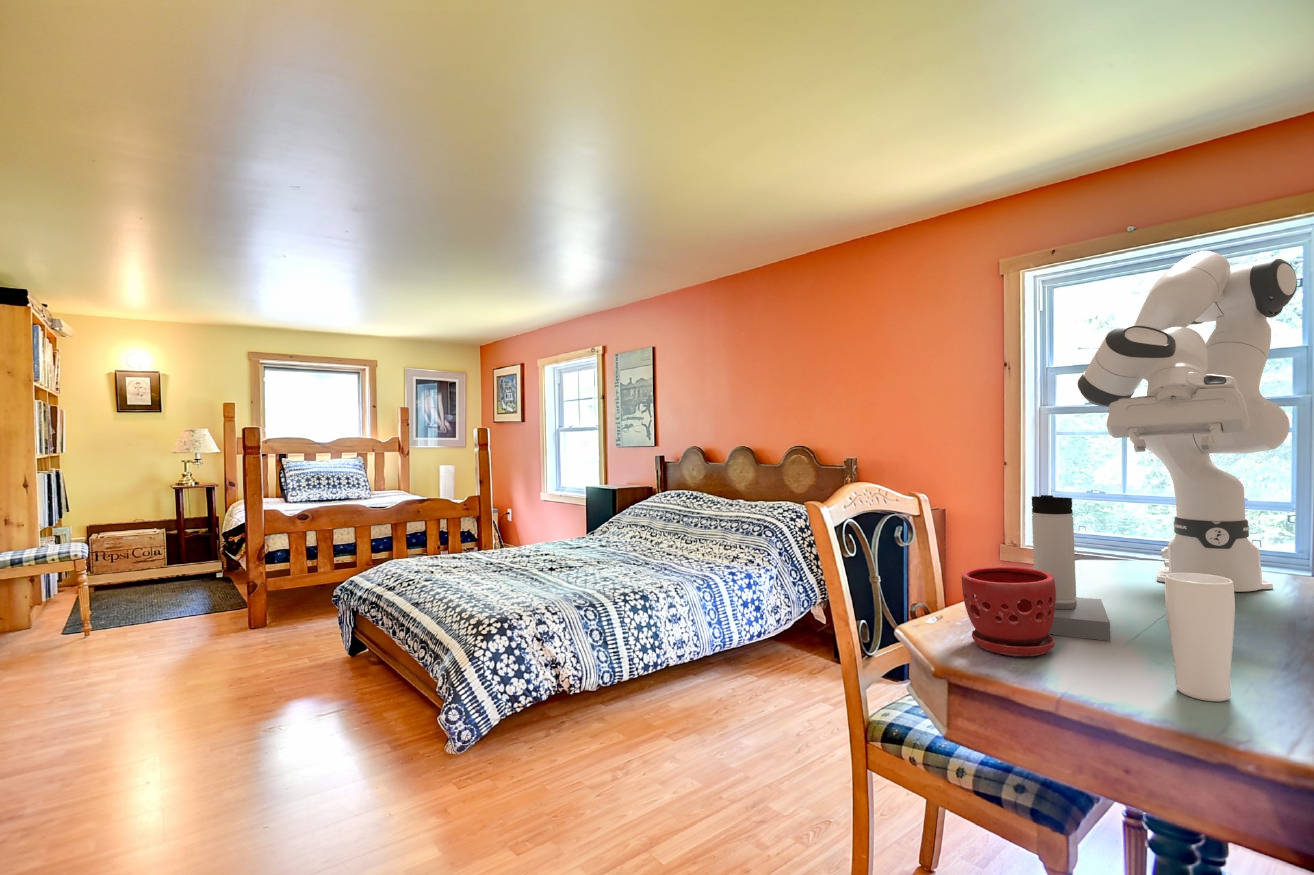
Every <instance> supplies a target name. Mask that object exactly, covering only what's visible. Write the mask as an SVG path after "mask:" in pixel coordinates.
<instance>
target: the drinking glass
mask: <svg viewBox="0 0 1314 875" xmlns="http://www.w3.org/2000/svg"><path fill="white" fill-rule="evenodd" d="M1164 594H1165V595H1164V599H1165V600H1164V601H1165V609H1166V610H1165V612H1166V618H1167V622H1168V623H1167V624H1168V630H1169V638H1170V644H1171V651H1172V657H1173V666H1174V676H1175V678H1174V679H1175V686H1176V689H1177V690H1178V691H1179V692H1180V693H1181V694H1183V695H1184V696H1187V697H1189V698H1193V699H1196V700H1201V701H1206V702H1215V703H1216V702H1217V703H1218V702H1224V701H1227V700H1229V699H1230V698H1231V696H1232V692H1231V691H1232V688H1231V678H1232V665H1233V664H1232V663H1233V662H1232V661H1233V648H1234V635H1235V633H1234V632H1235V622H1236V621H1235V620H1236V619H1235V618H1236V602H1235V600H1236V599H1235V591H1234V588H1233V581H1232V580H1230V579H1228V578H1224V577H1220V576H1215V575H1208V574H1199V573H1171V574H1167V575H1166V576H1165V582H1164Z"/></svg>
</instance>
